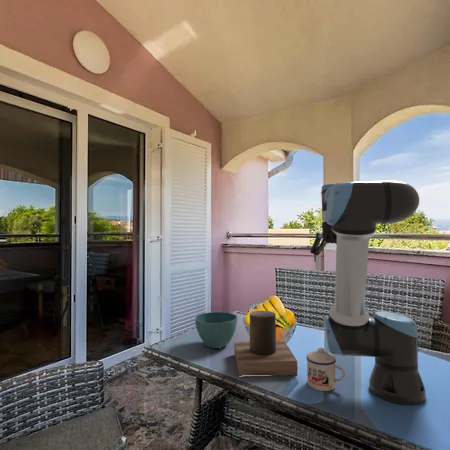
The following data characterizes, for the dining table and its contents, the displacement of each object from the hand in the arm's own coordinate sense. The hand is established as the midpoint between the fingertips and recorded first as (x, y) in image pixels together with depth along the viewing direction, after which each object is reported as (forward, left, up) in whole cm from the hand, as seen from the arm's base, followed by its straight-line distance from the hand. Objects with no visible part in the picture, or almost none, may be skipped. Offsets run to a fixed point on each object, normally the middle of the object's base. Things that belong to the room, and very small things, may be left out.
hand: (332, 271), depth 137 cm
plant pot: (+6, +49, -32) cm, 59 cm away
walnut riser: (-15, +32, -32) cm, 47 cm away
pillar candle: (-15, +32, -27) cm, 44 cm away
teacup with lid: (-33, +15, -32) cm, 48 cm away
